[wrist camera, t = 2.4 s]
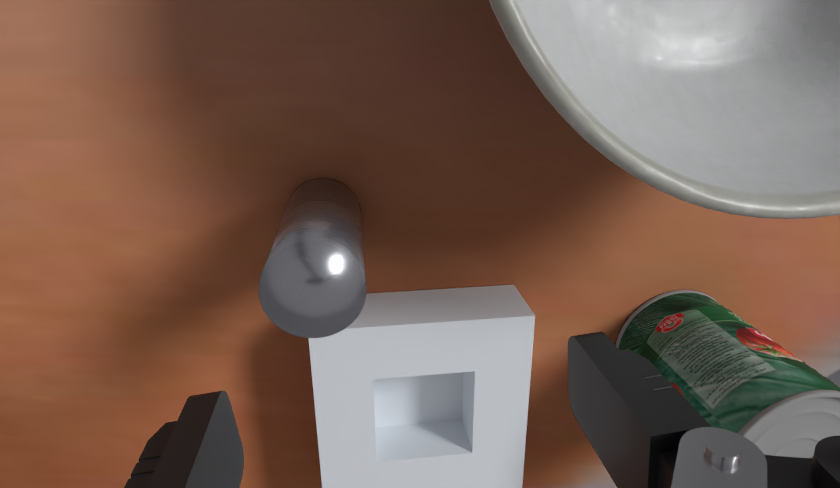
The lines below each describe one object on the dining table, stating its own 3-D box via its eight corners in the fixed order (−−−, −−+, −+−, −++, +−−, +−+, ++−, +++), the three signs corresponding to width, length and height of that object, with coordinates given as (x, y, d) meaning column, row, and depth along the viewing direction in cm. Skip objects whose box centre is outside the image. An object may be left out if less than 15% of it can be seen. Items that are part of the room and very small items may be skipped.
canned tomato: (591, 371, 36) (689, 503, 25) (657, 270, 34) (793, 370, 23) (682, 407, 38) (807, 542, 28) (750, 314, 36) (912, 423, 25)
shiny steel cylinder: (290, 249, 30) (264, 341, 21) (283, 179, 29) (252, 244, 19) (362, 245, 31) (368, 334, 21) (358, 176, 29) (364, 239, 20)
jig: (327, 471, 36) (325, 520, 32) (312, 296, 31) (307, 331, 28) (503, 453, 37) (521, 499, 33) (513, 284, 33) (535, 315, 29)
